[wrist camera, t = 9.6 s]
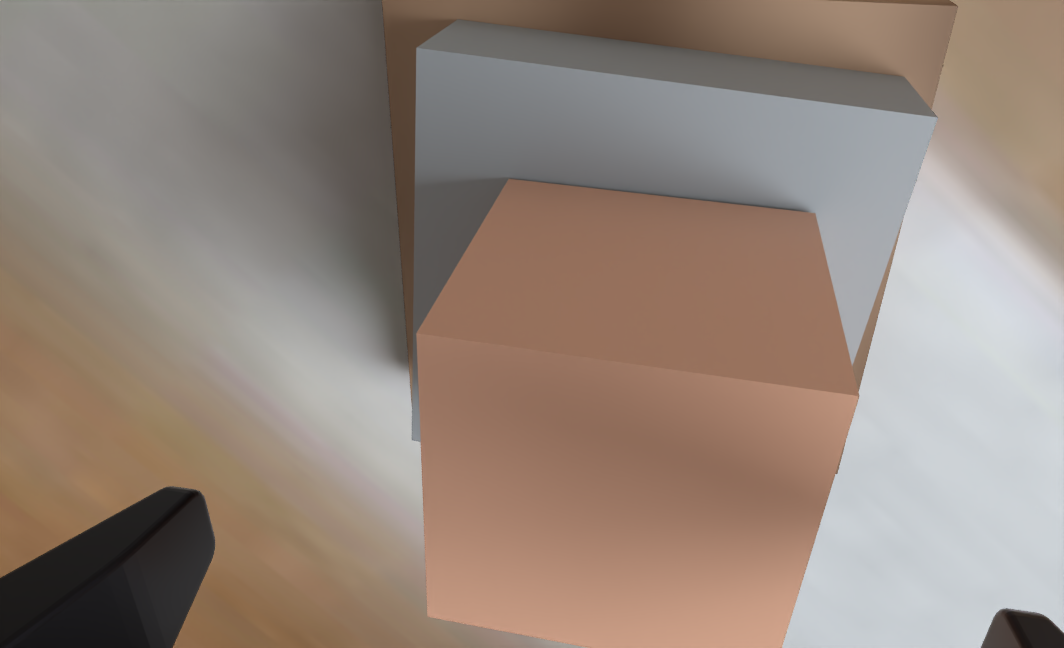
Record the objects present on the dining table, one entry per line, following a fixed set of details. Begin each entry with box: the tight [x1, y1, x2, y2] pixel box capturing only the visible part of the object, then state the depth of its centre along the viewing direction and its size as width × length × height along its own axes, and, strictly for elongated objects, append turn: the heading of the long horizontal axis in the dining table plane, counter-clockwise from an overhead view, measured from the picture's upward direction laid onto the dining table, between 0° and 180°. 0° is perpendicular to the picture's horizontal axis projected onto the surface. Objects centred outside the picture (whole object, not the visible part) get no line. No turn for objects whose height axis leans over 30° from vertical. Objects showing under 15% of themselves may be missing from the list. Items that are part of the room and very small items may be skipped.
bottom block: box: [382, 0, 958, 474], centre depth 18 cm, size 10×10×2 cm
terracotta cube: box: [416, 179, 859, 648], centre depth 13 cm, size 5×5×5 cm
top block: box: [412, 19, 938, 442], centre depth 16 cm, size 8×8×2 cm
